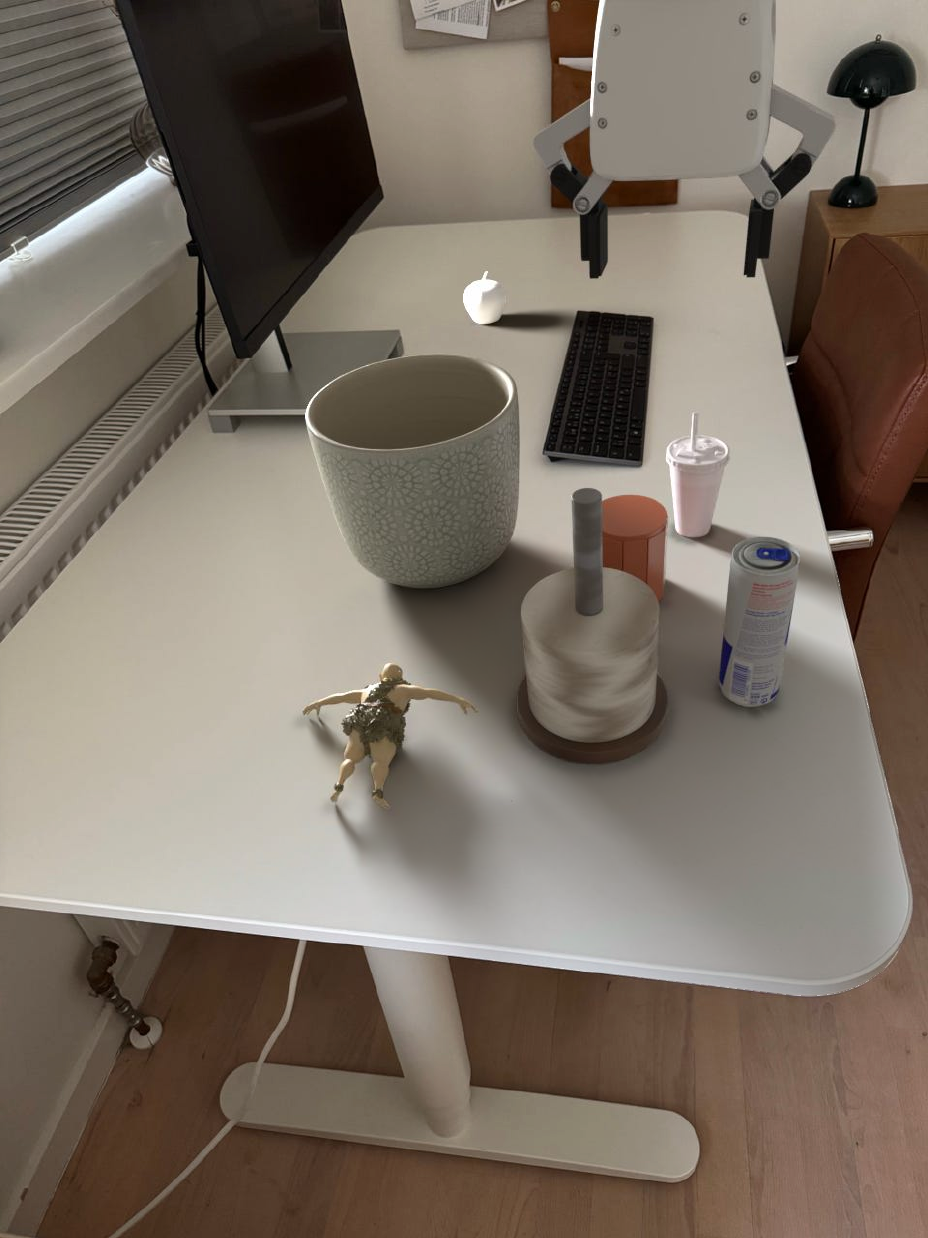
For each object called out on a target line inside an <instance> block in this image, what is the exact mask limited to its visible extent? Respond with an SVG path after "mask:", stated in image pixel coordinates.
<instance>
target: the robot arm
mask: <svg viewBox="0 0 928 1238" xmlns="http://www.w3.org/2000/svg"><path fill="white" fill-rule="evenodd" d="M776 24H777V3H776V0H599V3H598V10H597V18H596V25H595V32H594V33H595V34H594V42H593V43H594V44H593V58H592V73H591V74H592V75H591V90H590V91H591V93H590V98H588V99H587V100H585V101H584V102H582V103H581V104H579V105H578V106H576V107H575V108H573V109H571V110H570V111H568V112H567V113H566V114H564V115H562V116H561V117H560V118H558V119H557V120H555V121H554V122H552V123H551V124H549V125H547V126H546V127H545V128H543V129H541V130H540V131H539V132H538V133H537V134H536V135H535V137H534V138H533V147H534V150H535V152H536V153H537V155H538V157H539V159H540V161H541V163H542V165H543V167H544V168H545V170H546V171H547V173H548V174H549V179H550V182H551V184H552V185H553V186H554V188H556V189H557V190H558V191H559V192H560V193H561V194H562V196H564V197H565V198H566V199H567V200H568V202H570V203H571V204H572V208H573V210H574V212H575V213H577V214H578V215H579V243H580V245H579V247H580V261H581V262H588V271H589V272H588V273H589V274H588V275H589V279H591V280H592V279H597V280H598V279H599V277H602V275H603V273H604V271H605V269H606V267H607V265H608V262H609V217H608V216H609V205H608V203H606V200H605V199H604V193H605V192H606V191H607V189H609V187H610V185H611V184H612V183H613V181H615V182H616V181H618V182H635V181H636V182H637V181H639V182H640V181H668V180H669V181H671V180H693V179H696V180H697V179H716V178H717V179H718V178H730V177H737V176H738V177H739V179H740V180H741V181H742V183H743V185H744V186H745V187H746V189H748V191H749V192H750V194H752V196H753V198H752V199H750V205H749V210H748V218H747V219H748V221H747V232H746V242H745V253H744V265H743V276H746V278H756V273H757V264H758V260H769V259H770V254H771V253H770V252H771V243H772V233H773V225H774V215H775V208H777V206H778V205H779V204H780V202H781V200H782V199H783V198H785V197H786V196H787V195H788V194H789V193H790V192H791V191H793V189H794V188H795V187H796V186H797V185H799V184H800V183H801V182H802V181H803V180H804V179H805V178H806V177H808V175H809V174H810V172H811V170H812V168H813V166H814V164H815V163H816V161H817V159H818V158H819V157H820V156H821V154H822V152H823V151H824V150H825V148H826V146H827V144H828V143H829V141H830V139H831V138H832V136H833V135H834V133H835V131H836V127H837V126H836V118H835V116H834V115H833V114H832V113H830V112H828V111H825V110H824V109H822V108H820V107H818V106H816V105H814V104H813V103H810V102H809V101H807V100H806V99H803V98H801V97H800V96H798V95H795V94H794V93H791V92H790V91H788V90H786V89H784V88H783V87H781V86H778V85H776V84H774V75H775V74H774V72H775V57H776V56H775V54H776V53H775V52H776V37H777V35H776V33H777V30H776V29H777V25H776ZM771 117H772V118H774V119H776V120H777V121H780V122H781V123H783V124H784V125H787V126H789V127H790V128H793V129H795V130H797V131H799V132H800V133H801V134H802V138H801V140H800V142H799V144H798V145H797V147H796V149H795V150H794V151H793V153H792V154H790V156H789V157H787V159H785V161H783V162H782V163H781V164H780V165H779V166H778V167H777V168H776V169H775V170H774V168H773V167H772V165H771V164H770V163H769V161H768V160H767V158H766V156H764V154H765V150H766V149H765V148H766V145H767V142H768V139H769V134H770V133H769V132H770V125H771ZM588 128H589V153H590V154H589V156H590V157H589V158H590V164H591V167H592V170H593V171H592V173H591V174H590V175H589V177H588V178H587V177H586V176H585V175H584V174H583V173H582V172H581V171H580V170H579V168H577V166H575V165H574V164H573V162H571V161H570V160H569V158H568V155H567V152H566V150H565V147H564V146H565V143H566V142H568V141H569V140H571V139H573V138H574V137H576V136H577V135H579V134H580V133H582V132H584V131H585V130H586V129H588Z"/></svg>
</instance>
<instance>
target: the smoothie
mask: <svg viewBox="0 0 928 1238" xmlns="http://www.w3.org/2000/svg"><path fill="white" fill-rule="evenodd" d="M691 420H692V421H691V435H687V436H683V437H680V438H677V439H675V440H673V441H671V442H670V444H668V446H667V447H666V456H665V460H666V462H667V464H668V465H669V477H670V484H671V494H672V495H671V496H672V505H673V516H674V527H675V531H676V532H677V533H678V534H679V535H681V536H683V537H687V538H700V537H704V536H706V535H707V534H708V533H710V531H711V526H712V522H713V519H714V514H715V510H716V505H717V501H718V498H719V497H718V496H719V493H720V488H721V484H722V480H723V476H724V472H725V467H726V466H727V465H728V464H729V462H730V459H731V457H730V453H731V452H730V447H729V446H728V444H727V443H726V442H724V441H723V440H721V439H719V438H717V437H715V436H710V435H701V434H700V435H699V434H698V427H699V426H698V425H699V411H697V410H694V411H693V412H692V418H691Z"/></svg>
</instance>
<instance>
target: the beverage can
mask: <svg viewBox="0 0 928 1238" xmlns="http://www.w3.org/2000/svg"><path fill="white" fill-rule="evenodd" d="M800 562H801V555H800V552H799V550H798V549H797V548H796V547H795V546H794V545H793V544H791V543H790V542H788V541H786V540H783V539H781V538H777V537H772V536H753V537H748V538H745V539H743V540H741V541H739V542H738V543H737V544H736V545H734V547H733V548H732V551H731V558H730V563H729V573H728V582H727V592H726V602H725V612H724V622H723V632H722V642H721V651H720V661H719V671H718V688H719V690H720V692H721V693H722V695H723V696H724V697H725V698H726V699H728V700H729V701H730V702H732V703H734V704H736V705H738V706H741V707H746V708H756V707H761V706H765V705H767V704H768V703H769V704H770V703H771V702H772V701H773V700H775V699H776V697H777V696H778V694H779V691H780V688H781V682H782V676H783V670H784V665H785V657H786V652H787V645H788V638H789V633H790V629H791V628H790V627H791V620H792V615H793V608H794V603H795V596H796V591H797V586H798V585H797V583H798V578H799V573H800Z"/></svg>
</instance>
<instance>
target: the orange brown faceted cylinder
mask: <svg viewBox="0 0 928 1238" xmlns="http://www.w3.org/2000/svg"><path fill="white" fill-rule="evenodd" d="M668 528H669V516H668V511H667V509H666V507H665V506H664V505H663V504H662V503H661V502H659V501H658V500H656V499H654V498H651V497H650V496H649V497H648V496H645V495H641V494H620V495H615V496H611V497H608V498H606V499H604V500H603V499H602V545H603V567H605V568H612V569H616V570H620V571H623V572H626V573H629V574H631V575H633V576H635V577H637V578H639V579H640V580H642V581H643V582H645V583H646V584H647V585H648V586H649V587H650V588H651V589H652V591H653V592H654V594H655V595H656V597H657V600H658V602H660V601H661V600H662V599H663V597H664V594H665V593H664V592H665V588H666V577H667V576H666V574H667V573H666V572H667V556H668V555H667V552H668V531H669V529H668Z"/></svg>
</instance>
